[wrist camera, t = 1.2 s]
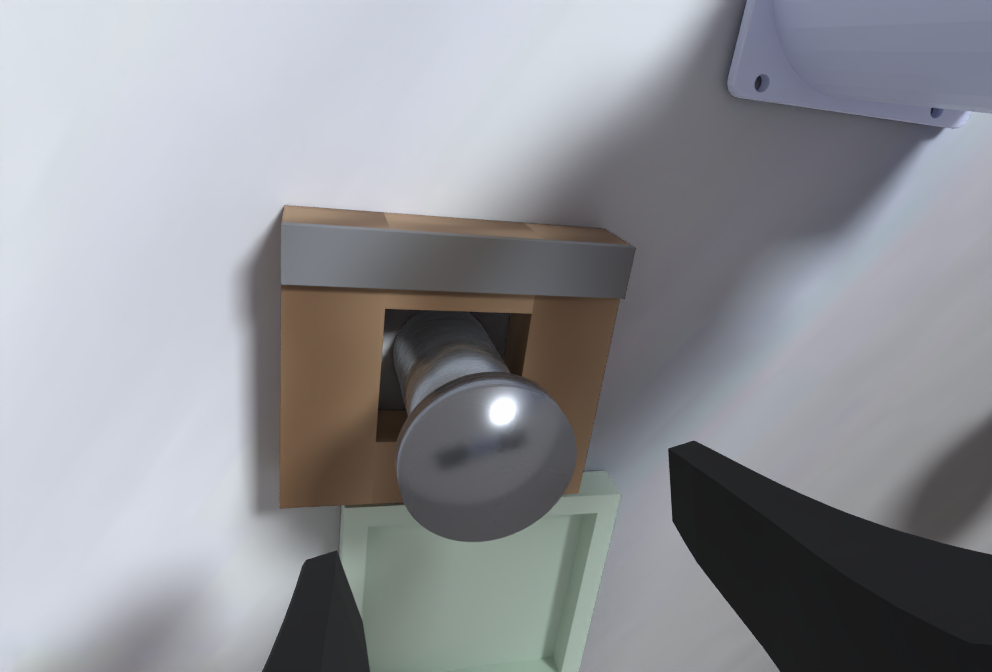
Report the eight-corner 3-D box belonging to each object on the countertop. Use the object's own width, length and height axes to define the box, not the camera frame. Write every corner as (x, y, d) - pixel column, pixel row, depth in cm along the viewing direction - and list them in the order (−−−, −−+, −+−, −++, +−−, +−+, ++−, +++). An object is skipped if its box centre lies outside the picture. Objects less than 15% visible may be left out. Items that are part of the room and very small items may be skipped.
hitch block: (604, 228, 21) (635, 248, 19) (559, 461, 25) (581, 498, 23) (284, 205, 19) (281, 224, 17) (282, 470, 22) (279, 514, 20)
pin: (513, 291, 21) (591, 387, 15) (496, 408, 23) (560, 536, 17) (378, 285, 20) (406, 386, 14) (370, 409, 22) (391, 548, 16)
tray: (605, 470, 25) (621, 494, 24) (562, 659, 29) (574, 688, 28) (342, 481, 23) (344, 508, 21) (332, 688, 26) (333, 721, 25)
